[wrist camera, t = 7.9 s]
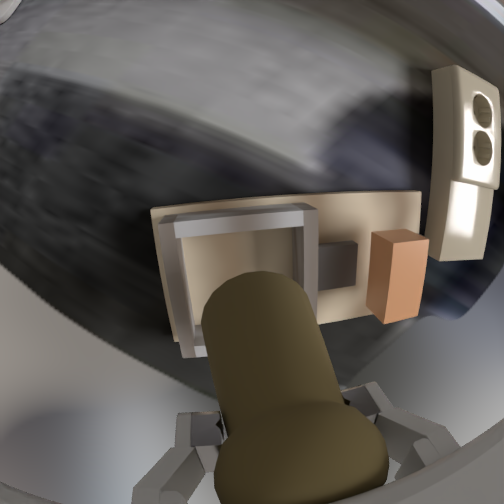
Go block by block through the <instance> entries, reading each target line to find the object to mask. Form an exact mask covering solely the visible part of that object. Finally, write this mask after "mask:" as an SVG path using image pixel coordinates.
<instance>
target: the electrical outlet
mask: <svg viewBox="0 0 504 504" xmlns="http://www.w3.org/2000/svg"><path fill="white" fill-rule="evenodd" d="M431 75H432V91H433V158H432V174H431V187H430V197H429V206H428V214H427V222H426V229H425V235H424V236H426V238H428V239H429V247H428V255H429V256H430V257H432V258H434V259H436V260H438V261H453V260H471V259H483V254H484V250H485V245H486V239H487V234H488V228H489V222H490V215H491V207H492V199H493V190H497V189H498V187H499V179H500V163H501V115H500V99H499V91H498V89H497V87H495V86H494V85H492V84H490V83H489V82H487V81H485V80H484V79H482V78H480V77H478V76H477V75H475V74H473V73H471V72H469V71H467V70H466V69H464V68H462V67H460V66H458V65H451V66H447V67H443V68H439V69H435V70H432V71H431Z"/></svg>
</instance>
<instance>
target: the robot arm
mask: <svg viewBox="0 0 504 504" xmlns="http://www.w3.org/2000/svg"><path fill="white" fill-rule="evenodd" d="M21 1H22V0H0V24H1V23H3V22H5V21H6V20H7V19H8V18H9V17H10V16H11V15H12V13H13V12H14V11H15V9H16V8H17V6H18V5H19V4H20V2H21ZM341 394H342V397H343V400H344V403H345V405H348V406H352V407H355V408H356V409H357V410H359V411H360V412H361V413H362V414H363V415H364V416H365V417H367V418H368V419H369V420H370V421H371V422H372V423H373V424H374V425H376V426H377V428H378V429H379V431H380V433H381V434H382V436H383V438H384V439H385V442H386V446H387V451H388V456H389V457H390V458H392V459H393V460H395V461H396V462H398V463H400V464H401V466H400V468H399V470H398V471H397V473H396V475H395V479H396V480H395V481H393V482H391V483H388V484H386V485H383V486H380V487H378V488H375V489H372V490H370V491H367V492H364V493H361V494H358V495H355V496H352V497H349V498H346V499H342V500H339V501H335V502H332V503H328V504H504V419H502V420H501V421H499V422H498V423H497V424H495V425H494V426H492V427H491V428H490V429H488V430H487V431H485V432H484V433H482V434H481V435H479V436H478V437H477V438H475V439H473V440H472V441H470V442H469V443H467V444H465V445H464V446H462V447H460V446H459V444H458V443H457V442H456V440H455V439H454V438H453V436H452V435H451V434H450V432H449V431H448V430H447V429H446V427H445V426H442V425H440V424H437V423H435V422H432V421H429V420H427V419H425V418H422V417H420V416H417V415H415V414H412V413H410V412H408V411H405V410H403V409H401V408H398V407H396V408H394V407H393V406H392V404H391V403H390V402H389V400H388V399H387V397H386V396H385V394H384V393H383V392H382V390H381V388H380V387H379V386H378V384H377V383H376V382H370V383H367V384H364V385H359V386H356V387H352V388H348V389H345V390H341ZM224 441H225V433H224V427H223V424H222V421H221V414H220V411H211V412H190V413H178V415H177V420H176V434H175V448H170V449H169V450H168V451H167V452H166V453H165V454H164V456H163V457H162V458H161V459H160V460H159V461H158V462H157V463H156V464H155V466H153V468H152V469H151V470H150V471H149V472H148V473H147V474H146V475H145V476H144V477H143V478H142V479H141V480H140V481H139V482H138V483H137V484H136V485H135V486H134V487H133V494H132V502H131V504H187V501H188V500H189V498H190V497H191V495H192V494H193V492H194V491H195V489H196V488H197V486H198V485H199V483H200V482H201V480H202V478H203V477H204V475H205V473H207V472H214V469H215V465H216V462H217V458H218V455H219V452H220V449H221V446H222V444H223V442H224ZM0 504H61V503H57V502H54V501H51V500H47V499H44V498H41V497H38V496H35V495H32V494H29V493H27V492H24V491H22V490H19V489H17V488H14V487H12V486H9V485H7V484H5V483H2V482H0Z"/></svg>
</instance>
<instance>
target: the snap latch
mask: <svg viewBox="0 0 504 504" xmlns="http://www.w3.org/2000/svg"><path fill="white" fill-rule="evenodd" d="M428 247H429V239H428V238H425V237H423V236H421V235H419V234H417V233H414V232H412V231H410V230H408V229H396V230H385V231H374V232H371V247H370V262H369V275H368V286H367V296H366V305H365V306H366V307H367V308H368V309H369V310H370V311H371V312H372V313H373V314H374V315H375V316H376V317H377V318H378V319H379V320H380V321H381V322H382V323H383V324H387V323H391V322H395V321H399V320H403V319H407V318H410V317H414V316H418V311H419V306H420V300H421V295H422V289H423V283H424V277H425V270H426V263H427V255H428Z"/></svg>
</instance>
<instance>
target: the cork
mask: <svg viewBox="0 0 504 504" xmlns="http://www.w3.org/2000/svg"><path fill="white" fill-rule="evenodd" d="M201 327H202V332H203V338H204V342H205V347H206V351H207V356H208V360H209V365H210V369H211V373H212V378H213V382H214V386H215V390H216V394H217V398H218V402H219V406H220V409H221V413H222V417H223V421H224V425H225V428H226V432H227V436H228V438H227V439H226V440H225V441H224V442H223V444H222V446H221V449H220V452H219V455H218V458H217V462H216V465H215V469H214V487H215V490H216V493H217V495H218V498H219V500H220V503H221V504H328V503H332V502H335V501H339V500H342V499H346V498H349V497H352V496H355V495H358V494H361V493H364V492H367V491H370V490H372V489H375V488H378V487H380V486H383V485H384V484H385V482H386V480H387V475H388V469H389V456H388V451H387V446H386V442H385V439H384V438H383V436H382V434H381V433H380V431H379V429H378V428H377V426H376V425H374V424H373V423H372V422H371V421H370V420H369V419H368V418H367V417H365V416H364V415H363V414H362V413H361V412H360V411H359V410H357V409H356V408H355V407H352V406H348V405H345V403H344V400H343V397H342V394H341V391H340V388H339V385H338V382H337V379H336V376H335V373H334V370H333V367H332V364H331V361H330V358H329V355H328V352H327V349H326V346H325V343H324V340H323V337H322V334H321V332H320V329H319V326H318V323H317V320H316V317H315V315H314V312H313V309H312V306H311V303H310V301H309V298H308V295H307V293H306V292H305V291H304V290H303V289H302V288H301V286H300V285H299V284H298V283H297V282H296V281H294V280H292V279H290V278H288V277H287V276H285V275H283V274H279V273H274V272H269V271H256V272H247V273H243V274H241V275H238V276H236V277H233V278H231V279H229V280H227V281H225V282H224V283H223V284H222V285H221V286H220V287H218V288H217V289H216V290H215V291H214V292H213V293H212V294H211V296H210V297H209V299H208V301H207V302H206V304H205V306H204V308H203V313H202V318H201Z"/></svg>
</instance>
